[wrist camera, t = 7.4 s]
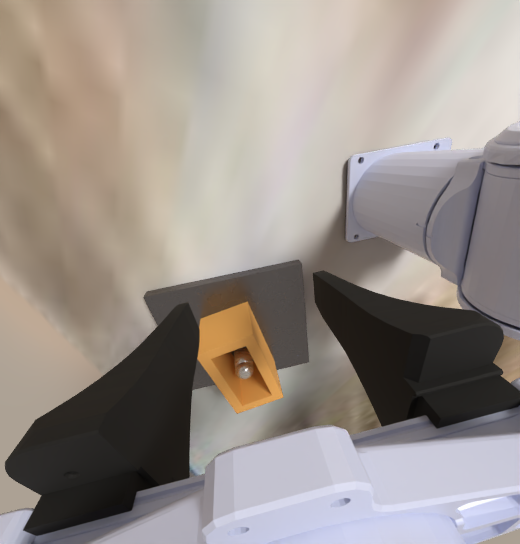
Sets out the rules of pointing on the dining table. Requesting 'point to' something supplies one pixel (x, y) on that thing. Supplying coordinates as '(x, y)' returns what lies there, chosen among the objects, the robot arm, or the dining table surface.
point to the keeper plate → (263, 302)
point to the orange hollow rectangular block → (220, 362)
